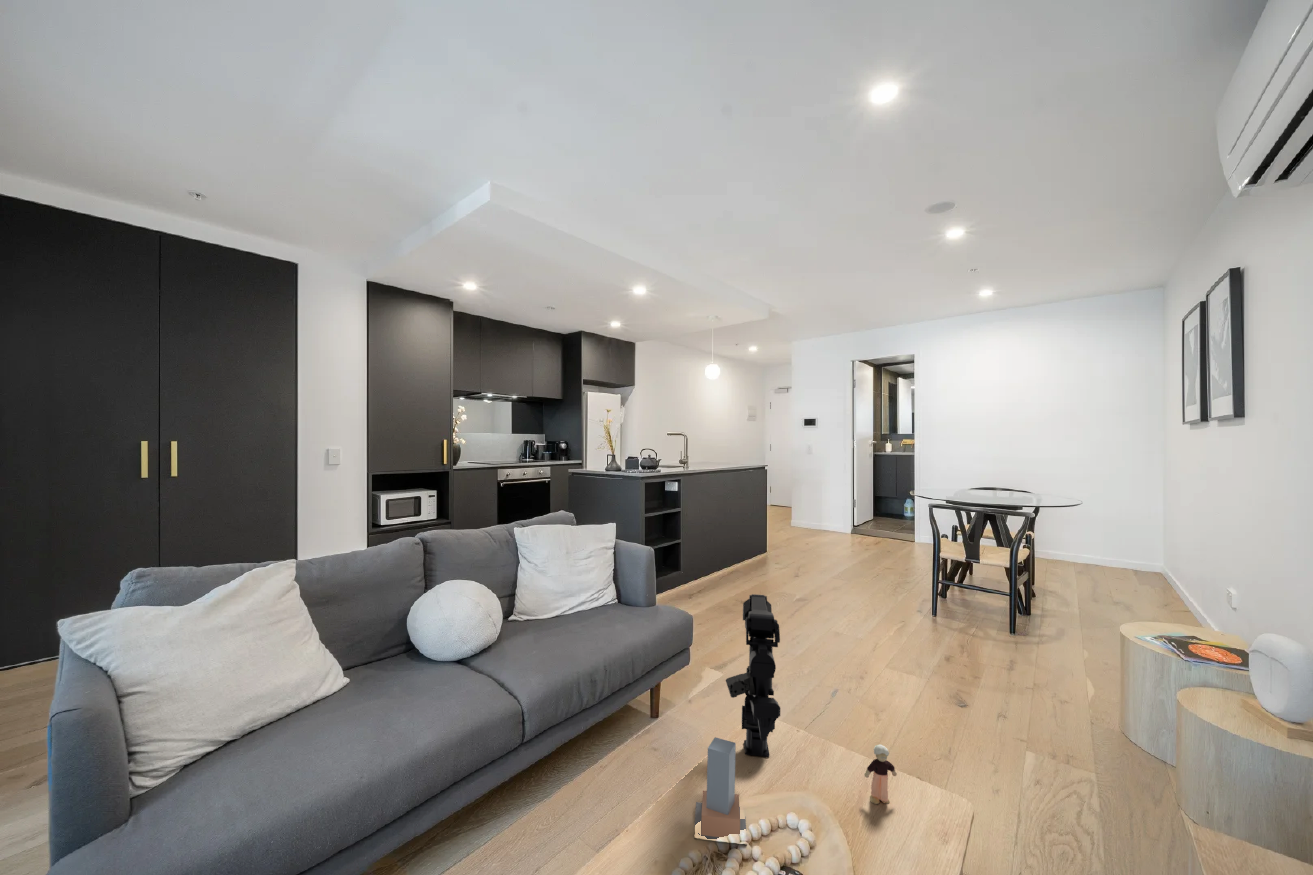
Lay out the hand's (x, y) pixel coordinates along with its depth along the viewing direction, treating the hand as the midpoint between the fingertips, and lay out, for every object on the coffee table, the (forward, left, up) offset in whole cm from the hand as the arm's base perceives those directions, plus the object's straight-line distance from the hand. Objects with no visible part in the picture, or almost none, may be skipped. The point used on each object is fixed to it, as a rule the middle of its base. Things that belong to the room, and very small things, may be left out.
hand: (759, 731), depth 124 cm
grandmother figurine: (+1, +29, -13) cm, 31 cm away
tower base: (+16, -9, -13) cm, 23 cm away
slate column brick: (+16, -9, -8) cm, 21 cm away
